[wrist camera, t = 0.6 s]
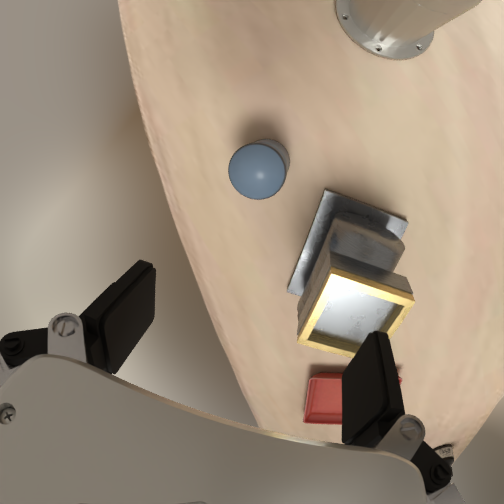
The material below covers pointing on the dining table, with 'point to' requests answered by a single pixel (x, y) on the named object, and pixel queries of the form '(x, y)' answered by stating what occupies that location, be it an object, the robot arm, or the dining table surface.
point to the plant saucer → (325, 399)
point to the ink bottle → (446, 454)
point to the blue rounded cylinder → (259, 169)
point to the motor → (350, 276)
